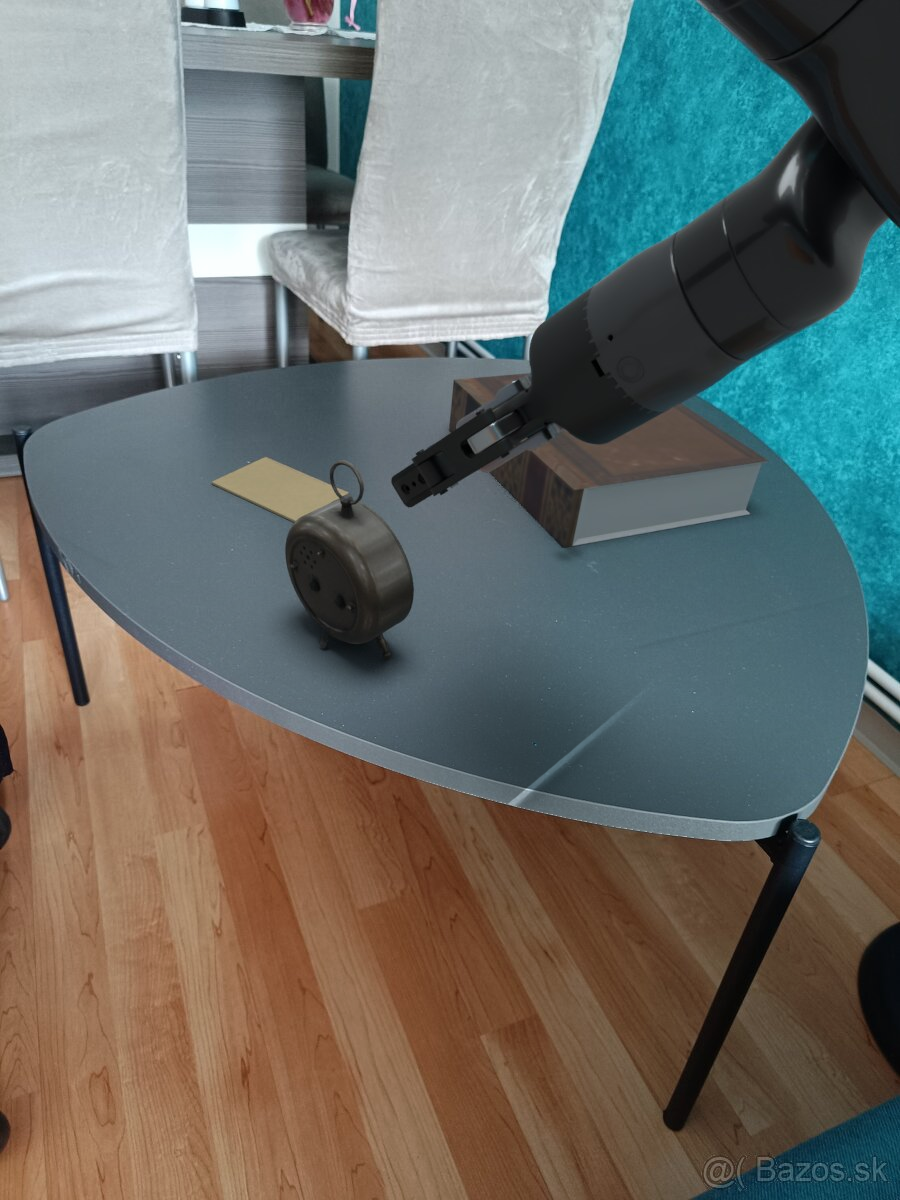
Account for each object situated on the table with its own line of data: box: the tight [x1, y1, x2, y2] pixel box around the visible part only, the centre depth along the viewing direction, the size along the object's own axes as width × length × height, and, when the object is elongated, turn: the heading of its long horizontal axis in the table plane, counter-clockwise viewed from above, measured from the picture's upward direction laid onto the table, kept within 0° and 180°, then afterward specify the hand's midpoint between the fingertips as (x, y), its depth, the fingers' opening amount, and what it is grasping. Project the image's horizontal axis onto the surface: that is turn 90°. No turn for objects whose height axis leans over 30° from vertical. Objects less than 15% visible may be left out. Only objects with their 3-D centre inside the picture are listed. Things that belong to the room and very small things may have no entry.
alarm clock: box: [284, 459, 415, 660], centre depth 64 cm, size 11×5×16 cm, turn 47°
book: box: [448, 372, 769, 548], centre depth 96 cm, size 24×28×6 cm
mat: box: [211, 456, 350, 523], centre depth 88 cm, size 8×12×1 cm, turn 56°
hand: (440, 469), depth 54 cm, fingers open, 8 cm apart
